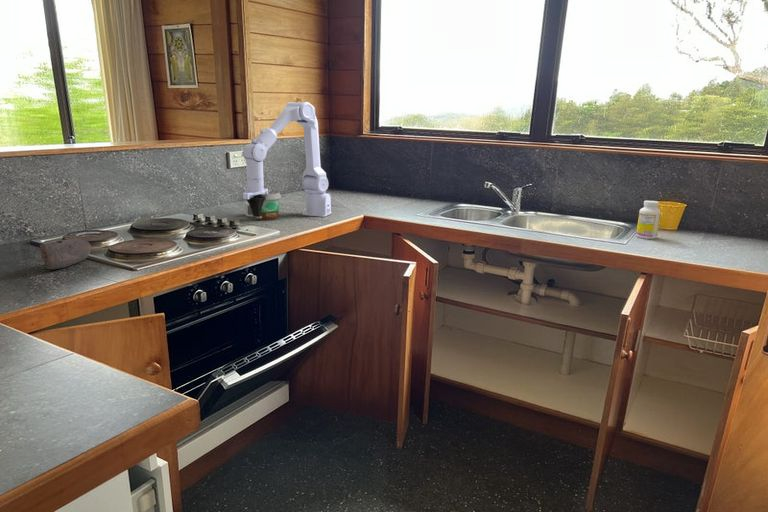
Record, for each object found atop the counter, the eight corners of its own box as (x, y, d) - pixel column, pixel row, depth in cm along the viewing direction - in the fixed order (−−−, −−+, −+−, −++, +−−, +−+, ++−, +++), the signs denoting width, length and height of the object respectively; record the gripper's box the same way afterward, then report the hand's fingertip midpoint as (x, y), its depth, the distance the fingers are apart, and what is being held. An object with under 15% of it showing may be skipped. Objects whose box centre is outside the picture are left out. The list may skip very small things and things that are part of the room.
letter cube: (264, 215, 207) (263, 202, 206) (257, 217, 203) (257, 204, 201) (252, 214, 209) (251, 201, 207) (245, 216, 204) (245, 203, 202)
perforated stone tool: (84, 257, 143) (81, 232, 141) (100, 259, 142) (96, 233, 140) (34, 272, 129) (30, 244, 127) (51, 274, 128) (47, 246, 126)
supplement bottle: (645, 234, 190) (651, 199, 186) (660, 238, 184) (666, 202, 180) (631, 235, 187) (636, 200, 184) (646, 240, 181) (652, 203, 178)
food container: (263, 222, 193) (262, 195, 190) (252, 220, 196) (251, 193, 194) (288, 217, 202) (287, 192, 200) (277, 215, 206) (276, 190, 203)
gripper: (255, 175, 193) (256, 212, 197) (234, 180, 180) (236, 219, 183) (272, 176, 191) (273, 213, 195) (252, 181, 178) (254, 220, 181)
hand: (256, 216), depth 189 cm, fingers closed
